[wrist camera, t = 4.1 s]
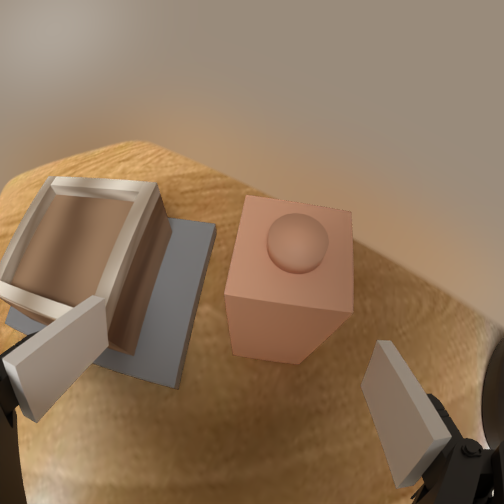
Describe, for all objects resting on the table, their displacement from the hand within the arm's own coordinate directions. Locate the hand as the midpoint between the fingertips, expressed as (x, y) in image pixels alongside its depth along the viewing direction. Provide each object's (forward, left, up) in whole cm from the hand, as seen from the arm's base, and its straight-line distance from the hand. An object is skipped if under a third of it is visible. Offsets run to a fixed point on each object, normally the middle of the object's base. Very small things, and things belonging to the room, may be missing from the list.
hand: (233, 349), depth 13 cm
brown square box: (+13, -5, -8) cm, 16 cm away
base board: (+13, -5, -9) cm, 17 cm away
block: (-2, -4, -9) cm, 10 cm away
